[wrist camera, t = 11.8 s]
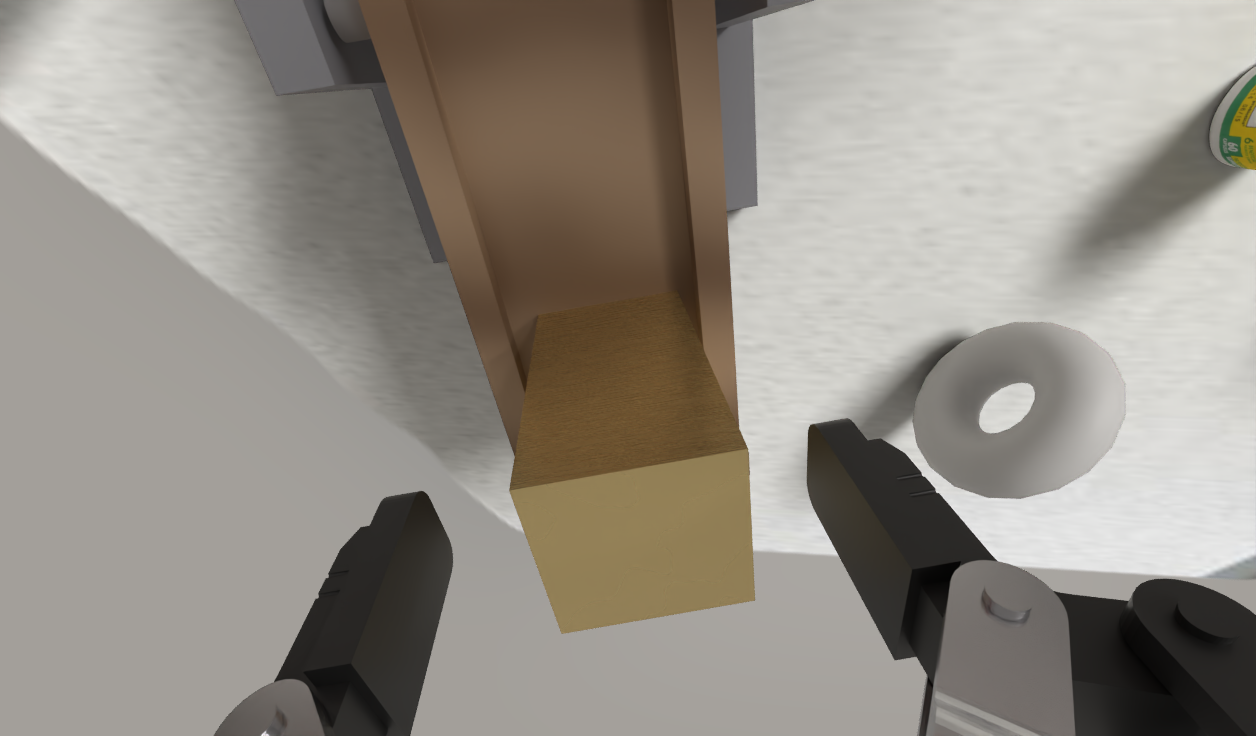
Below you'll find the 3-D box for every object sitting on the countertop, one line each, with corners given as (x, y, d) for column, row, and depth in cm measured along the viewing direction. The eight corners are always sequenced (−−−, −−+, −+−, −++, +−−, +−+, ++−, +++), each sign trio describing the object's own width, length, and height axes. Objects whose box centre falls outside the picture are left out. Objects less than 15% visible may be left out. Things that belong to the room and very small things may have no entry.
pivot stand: (258, -263, 17) (-135, -675, 8) (731, -350, 17) (921, -878, 8) (439, 255, 26) (360, 359, 17) (750, 200, 26) (848, 272, 17)
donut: (995, 283, 30) (1166, 369, 21) (1030, 311, 31) (1207, 404, 22) (871, 409, 33) (973, 526, 25) (906, 430, 35) (1016, 549, 26)
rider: (538, 314, 17) (509, 490, 10) (676, 290, 16) (748, 448, 10) (567, 426, 19) (561, 634, 12) (690, 405, 19) (754, 600, 12)
